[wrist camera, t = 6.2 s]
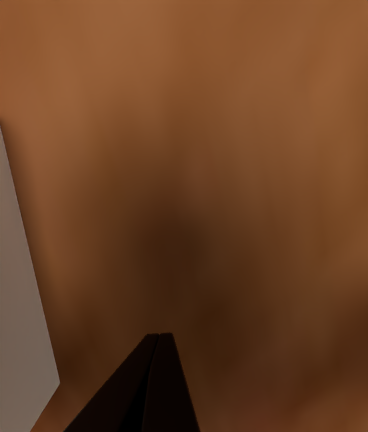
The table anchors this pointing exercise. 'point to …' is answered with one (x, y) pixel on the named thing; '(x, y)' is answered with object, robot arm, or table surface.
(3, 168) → the white rectangular block
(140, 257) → the table surface
